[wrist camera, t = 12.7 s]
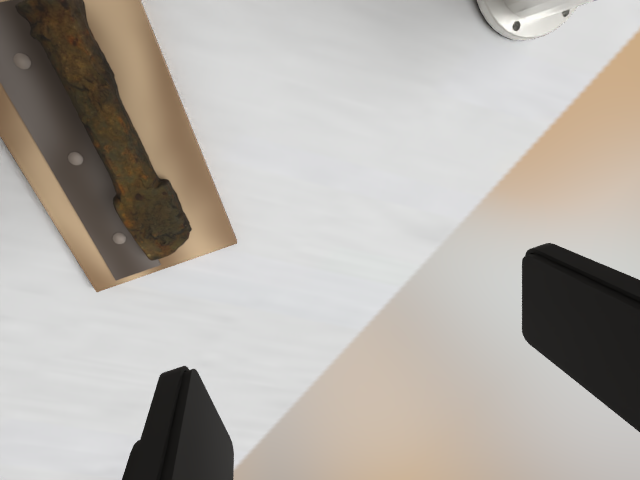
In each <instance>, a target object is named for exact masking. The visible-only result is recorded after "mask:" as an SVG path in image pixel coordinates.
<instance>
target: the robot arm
mask: <svg viewBox="0 0 640 480" xmlns="http://www.w3.org/2000/svg"><path fill="white" fill-rule="evenodd" d="M593 1H596V0H477V3H478V5H479V8H480V11H481V12H482V14H483V16H484V17H485V19H486V21H487V22H488V23H489V24H490V25H491V27H492V28H493V29H494V30H495V31H497V32H498V33H500V34H501V35H503V36H504V37H507V38H510V39H513V40H522V41H524V40H530V39H535V38H538V37H541V36H545V35H547V34H549V33H551V32H552V31H554V30H556V29H557V28H559V27H560V26H561V25H562V24H563V23H565V22H566V21H567V20H568V18H569V17H570V16H571V15H572V14H573V13H574V11H575V10H576V8H577V7H578V6H581V5H584V4H587V3H590V2H593ZM522 333H523V336H524V338H525V340H526V341H527V342H528V343H529V344H530V345H531V346H532V347H534V348H535V349H536V350H538V351H539V352H540V353H541V354H543V355H544V356H545V357H546V358H548V359H549V360H550V361H551V362H553V363H554V364H555V365H556V366H558V367H559V368H560V369H561V370H563V371H564V372H565V373H566V374H568V375H569V376H570V377H571V378H573V379H574V380H575V381H576V382H578V383H579V384H580V385H582V386H583V387H584V388H585V389H586V390H588V391H589V392H590V393H592V394H593V395H594V396H595V397H597V398H598V399H599V400H600V401H601V402H603V403H604V404H605V405H607V406H608V407H609V408H610V409H611V410H613V411H614V412H615V413H617V414H618V415H619V416H620V417H621V418H623V419H624V420H625V421H626V422H628V423H629V424H630V425H631V426H633V427H634V428H635V429H637V430H638V431H639V432H640V280H638V279H636V278H634V277H631V276H629V275H626V274H624V273H622V272H619V271H617V270H614V269H612V268H610V267H607V266H605V265H603V264H600V263H598V262H595V261H593V260H591V259H588V258H586V257H583V256H581V255H579V254H576V253H574V252H571V251H569V250H567V249H564V248H562V247H559V246H557V245H555V244H551V243H547V244H543V245H540V246H538V247H535V248H532V249H529V250H528V251H527V252H526V255H525V257H524V258H523V260H522ZM233 464H234V452H233V445H232V441H231V439H230V437H229V434H228V432H227V430H226V428H225V426H224V424H223V422H222V420H221V418H220V416H219V414H218V412H217V410H216V408H215V406H214V404H213V402H212V400H211V398H210V396H209V394H208V392H207V390H206V388H205V386H204V384H203V382H202V380H201V378H200V376H199V374H198V372H197V371H196V370H195V369H192V370H189V369H188V368H187V367H186V366H182V367H179V368H176V369H173V370H170V371H167V372H164V373H162V374H161V375H160V377H159V380H158V383H157V387H156V390H155V393H154V397H153V400H152V403H151V406H150V410H149V413H148V416H147V420H146V423H145V426H144V430H143V433H142V436H141V440H139V441H137V442H136V443H135V444H134V446H133V448H132V451H131V453H130V456H129V459H128V462H127V466H126V469H125V472H124V475H123V478H122V480H233Z"/></svg>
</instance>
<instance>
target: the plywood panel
mask: <svg viewBox="0 0 640 480" xmlns="http://www.w3.org/2000/svg"><path fill="white" fill-rule="evenodd" d="M22 1H25V0H0V136H1V138H2V140H3V141H4V143H5V145H6V146H7V148H8V149H9V151H10V153H11V154H12V156H13V158H14V159H15V161H16V162H17V164H18V166H19V167H20V169H21V170H22V172H23V174H24V175H25V177H26V179H27V180H28V182H29V183H30V185H31V187H32V188H33V190H34V192H35V193H36V195H37V196H38V198H39V200H40V201H41V203H42V205H43V206H44V208H45V209H46V211H47V213H48V214H49V216H50V217H51V219H52V221H53V222H54V224H55V226H56V227H57V229H58V230H59V232H60V234H61V235H62V237H63V239H64V240H65V242H66V243H67V245H68V247H69V248H70V250H71V252H72V253H73V255H74V256H75V258H76V260H77V261H78V263H79V264H80V266H81V268H82V269H83V271H84V273H85V274H86V276H87V277H88V279H89V281H90V282H91V284H92V286H93V287H94V289H95V290H96V292H99V291H102V290H105V289H108V288H110V287H113V286H116V285H119V284H122V283H125V282H128V281H130V280H133V279H136V278H139V277H142V276H145V275H148V274H151V273H153V272H156V271H159V270H162V269H165V268H168V267H171V266H174V265H176V264H179V263H182V262H185V261H188V260H191V259H194V258H197V257H199V256H202V255H205V254H208V253H211V252H214V251H217V250H220V249H222V248H225V247H228V246H231V245H234V244H237V239H236V237H235V234H234V232H233V229H232V227H231V224H230V222H229V219H228V217H227V214H226V212H225V209H224V207H223V204H222V202H221V199H220V197H219V194H218V192H217V189H216V187H215V184H214V182H213V179H212V177H211V174H210V172H209V169H208V167H207V164H206V162H205V159H204V157H203V154H202V152H201V149H200V147H199V144H198V142H197V139H196V137H195V134H194V132H193V130H192V127H191V125H190V122H189V120H188V117H187V115H186V112H185V110H184V107H183V105H182V102H181V100H180V97H179V95H178V92H177V90H176V87H175V85H174V82H173V80H172V77H171V75H170V72H169V70H168V67H167V65H166V62H165V60H164V57H163V55H162V52H161V50H160V47H159V45H158V42H157V40H156V37H155V35H154V32H153V30H152V27H151V25H150V22H149V20H148V17H147V15H146V13H145V10H144V8H143V5H142V3H141V0H83V1H84V3H85V10H86V18H87V22H88V25H89V28H90V29H91V32H92V33H93V35H94V38H95V40H96V41H97V42H98V44H99V47H100V49H101V51H102V52H103V53H104V55H105V57H106V60H107V62H108V63H109V65H110V67H111V69H112V71H113V73H114V74H115V81H116V84H117V86H118V92H119V96H120V98H121V100H122V103H123V105H124V107H125V109H126V111H127V113H128V115H129V117H130V119H131V121H132V124H133V126H134V128H135V130H136V131H137V133H138V135H139V138H140V140H141V142H142V144H143V146H144V148H145V151H146V152H147V154H148V156H149V159H150V162H151V164H152V166H153V168H154V170H155V172H156V174H157V176H158V177H159V178H160V179H168V180H169V181H170V183H171V185H172V187H173V189H174V190H175V192H176V193H177V196H178V199H179V201H180V203H181V206H182V209H183V212H184V213H185V214H186V216H187V218H188V220H189V222H190V226H191V228H192V231H191V232H190V235H189V239H188V240H187V241H186V242H185V243H184V244H183V245H182V246H180V247H179V248H178V249H177V250H176V252H174V253H173V254H171V255H169V256H166V257H164V258H161V259H157V260H153V261H152V260H150V259H148V257H147V256H146V254H145V253H144V252H143V251H142V249H141V248H140V246H139V245H138V244H137V243H136V241H135V240H134V239H133V237H132V235H131V234H130V232H129V231H128V229H127V228H126V227H125V225H124V224H123V222H122V221H121V219H120V217H119V215H118V214H117V212H116V210H115V208H114V205H113V198H114V197H115V195H116V192H115V189H114V186H113V183H112V180H111V178H110V175H109V173H108V171H107V170H106V168H105V166H104V163H103V161H102V160H101V158H100V156H99V155H98V153H97V151H96V149H95V147H94V145H93V143H92V141H91V139H90V137H89V135H88V133H87V131H86V129H85V127H84V125H83V124H82V122H81V120H80V118H79V116H78V114H77V111H76V109H75V108H74V106H73V104H72V102H71V99H70V98H69V96H68V94H67V92H66V90H65V88H64V86H63V84H62V83H61V81H60V79H59V77H58V75H57V74H56V72H55V70H54V68H53V67H52V65H51V62H50V60H49V59H48V57H47V54H46V52H45V50H44V48H43V47H42V45H41V44H40V42H39V41H38V40H36V39H34V38H33V37H32V36H31V35H30V30H31V27H30V24H29V22H28V21H27V20H26V19H25V18H24V17H22V16H21V15H20V14H19V13H18V12H17V10H16V8H15V5H16V4H18V3H19V2H22Z"/></svg>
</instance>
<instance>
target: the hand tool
mask: <svg viewBox="0 0 640 480" xmlns="http://www.w3.org/2000/svg"><path fill="white" fill-rule="evenodd" d="M15 8H16V10H17V12H18V13H19V14H20V15H21V16H22V17H24V18H25V19H26V20H27V21H28V22H29V24H30V27H31V30H30V35H31V36H32V37H33V38H34V39H36V40H38V41H39V42H40V44H41V45H42V47H43V48H44V50H45V52H46V54H47V57H48V59H49V60H50V62H51V65H52V67H53V68H54V70H55V72H56V74H57V75H58V77H59V79H60V81H61V83H62V84H63V86H64V88H65V90H66V92H67V94H68V96H69V98H70V99H71V102H72V104H73V106H74V108H75V109H76V111H77V114H78V116H79V118H80V120H81V122H82V124H83V125H84V127H85V129H86V131H87V133H88V135H89V137H90V139H91V141H92V143H93V145H94V147H95V149H96V151H97V153H98V155H99V156H100V158H101V160H102V161H103V163H104V166H105V168H106V170H107V171H108V173H109V175H110V178H111V180H112V183H113V186H114V189H115V192H116V195H115V197H114V198H113V205H114V208H115V210H116V212H117V214H118V215H119V217H120V219H121V221H122V222H123V224H124V225H125V227H126V228H127V229H128V231H129V232H130V234H131V235H132V237H133V239H134V240H135V241H136V243H137V244H138V245H139V246H140V248H141V249H142V251H143V252H144V253H145V254H146V256H147V257H148V259H150V260H152V261H153V260H157V259H161V258H164V257H166V256H169V255H171V254H173V253H174V252H176V250H177V249H178V248H179V247H180V246H182V245H183V244H184V243H185V242H186V241H187V240H188V239H189V235H190V232H191V231H192V228H191V226H190V222H189V220H188V218H187V216H186V214H185V213H184V212H183V209H182V206H181V203H180V201H179V199H178V196H177V193H176V192H175V190H174V189H173V187H172V185H171V183H170V181H169V180H168V179H160V178H159V177H158V176H157V174H156V172H155V170H154V168H153V166H152V164H151V162H150V159H149V156H148V154H147V152H146V151H145V148H144V146H143V144H142V142H141V140H140V138H139V135H138V133H137V131H136V130H135V128H134V126H133V124H132V121H131V119H130V117H129V115H128V113H127V111H126V109H125V107H124V105H123V103H122V100H121V98H120V96H119V92H118V86H117V84H116V81H115V74H114V73H113V71H112V69H111V67H110V65H109V63H108V62H107V60H106V57H105V55H104V53H103V52H102V51H101V49H100V47H99V44H98V42H97V41H96V40H95V38H94V35H93V33H92V32H91V29H90V28H89V25H88V22H87V18H86V10H85V3H84V1H83V0H25V1H22V2H19V3H18V4H16V5H15Z"/></svg>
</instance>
